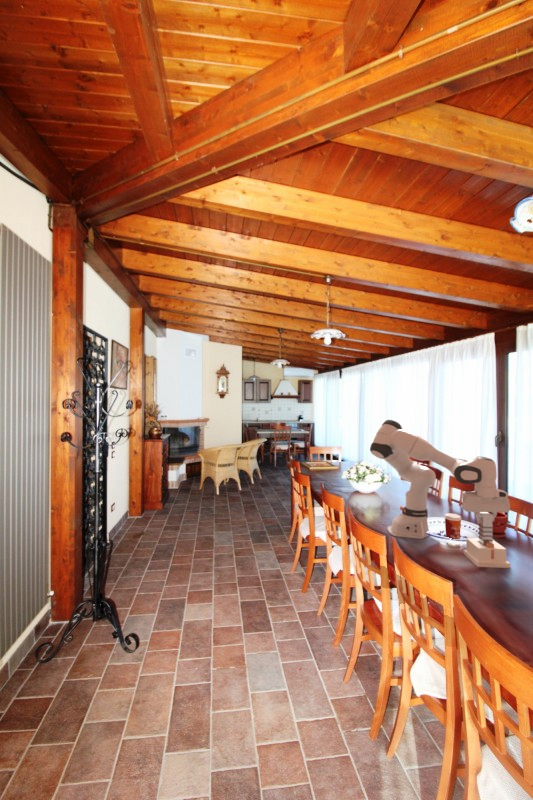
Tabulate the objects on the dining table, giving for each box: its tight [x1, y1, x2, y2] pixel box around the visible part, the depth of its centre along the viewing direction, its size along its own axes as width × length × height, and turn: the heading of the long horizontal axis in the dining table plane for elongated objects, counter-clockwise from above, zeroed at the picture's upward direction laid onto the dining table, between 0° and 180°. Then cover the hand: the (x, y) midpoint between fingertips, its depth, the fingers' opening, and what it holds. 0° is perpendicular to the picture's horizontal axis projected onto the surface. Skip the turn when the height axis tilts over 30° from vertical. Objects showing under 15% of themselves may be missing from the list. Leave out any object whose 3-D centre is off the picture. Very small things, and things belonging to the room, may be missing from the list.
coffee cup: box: [443, 513, 462, 540], centre depth 191 cm, size 8×8×15 cm
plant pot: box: [489, 512, 509, 539], centre depth 203 cm, size 13×13×12 cm
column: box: [477, 512, 494, 546], centre depth 171 cm, size 4×4×22 cm
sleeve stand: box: [462, 537, 511, 569], centre depth 171 cm, size 14×14×10 cm
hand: (485, 520), depth 171 cm, fingers closed on column, 4 cm apart
